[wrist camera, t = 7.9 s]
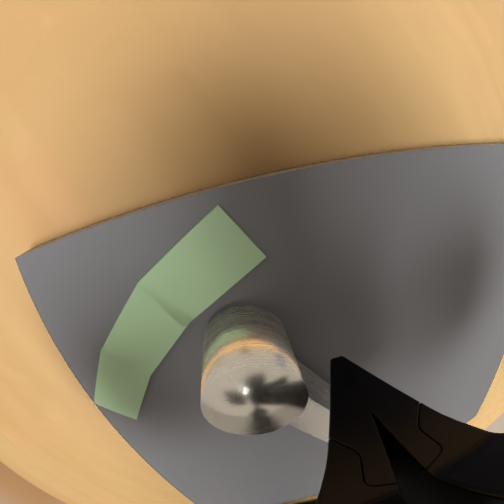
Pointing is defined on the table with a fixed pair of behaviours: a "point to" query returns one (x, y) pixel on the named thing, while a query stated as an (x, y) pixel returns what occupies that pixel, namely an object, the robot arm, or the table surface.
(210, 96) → the table surface
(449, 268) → the dial board
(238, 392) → the lever
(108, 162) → the table surface
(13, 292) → the table surface
